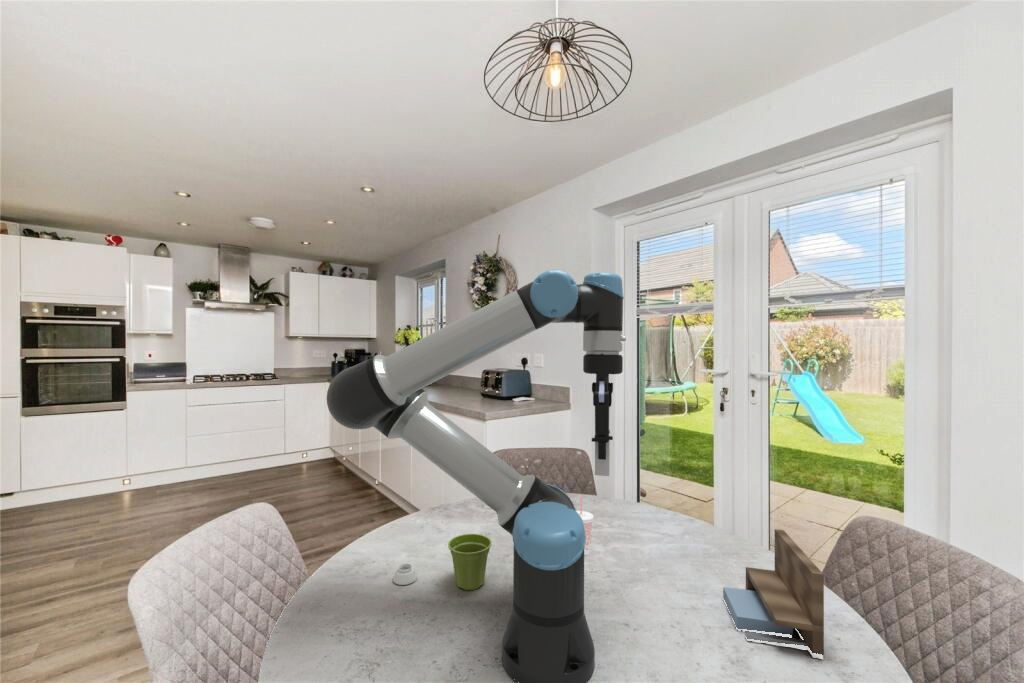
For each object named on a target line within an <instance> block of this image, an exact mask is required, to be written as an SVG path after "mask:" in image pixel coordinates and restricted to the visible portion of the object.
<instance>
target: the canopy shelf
mask: <svg viewBox="0 0 1024 683" xmlns="http://www.w3.org/2000/svg"><path fill="white" fill-rule="evenodd" d="M824 576H825V575H824V573H823V572H822V571H821V570H820V568H818V567H817V565H816V564H815V563H814V562H813V561H812V560H811V559H810V558H809V557H808V555H807V554H806V553H805V552H804V551H803V550H802V549H801V548H800V547H799V545H798V544H797V543H796V541H794V540H793V538H791V537H790V536H789V534H787V532H786V531H785V530H784V529H779V528H774V570H772V569H765V568H755V567H747V566H746V567H745V590H751V591H757V593H758V594H759V596H760V598H761V600H762V601H763V603H764V605H765V607H766V609H767V610H768V612H769V614H770V616H771V617H772V619H773V621H774V623H775V624H776V626H782V627H789V628H793V629H794V628H796V629H797V630H798V631H799V633H800V634H801V636H802V637H803V639H804V640H802V639H800V638H794V637H793V638H789V637H782V636H776V635H769V634H762V633H756V632H749V631H745V632H744V635H745V636H746V637H747V639H754V640H760V641H761V640H762V641H768V642H777V643H785V644H795V645H796V644H797V645H804V646H808V647H809V648H810V650H811V651H812V653H816V654H817V653H818V654H822V655H824V656H825V647H824V646H825V644H824V643H825V639H824V638H825V632H824V631H825V621H824V620H825V614H824V613H825V612H824V611H825V608H824V607H825V604H824V603H825V602H824V601H825V597H824V596H825V595H824V594H825V593H824V592H825V591H824V589H825V588H824V587H825V585H824V584H825V580H824V579H825V577H824Z"/></svg>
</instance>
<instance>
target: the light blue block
mask: <svg viewBox="0 0 1024 683" xmlns="http://www.w3.org/2000/svg"><path fill="white" fill-rule="evenodd" d="M722 590H723V591H722V598H724V600H725V602H726V604H727V607H728V609H729V611H730V613H731V616H732V618H733V620H734V622H735V625H736V627H737V628H738V629H747V630H757V631H765V632H775V633H782V634H790V635H794V628H789V627H782V626H776V624H775V623H774V621H773V619H772V617H771V616H770V614H769V612H768V610H767V609H766V607H765V605H764V603H763V601H762V600H761V598H760V596H759V594H758V593H757V591H751V590H746V589H742V588H734V587H728V586H723V587H722ZM724 600H723V601H724ZM727 607H726V608H727ZM728 609H727V610H728ZM731 616H730V617H731ZM732 618H731V619H732ZM735 625H734V626H735ZM736 627H735V628H736Z"/></svg>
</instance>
